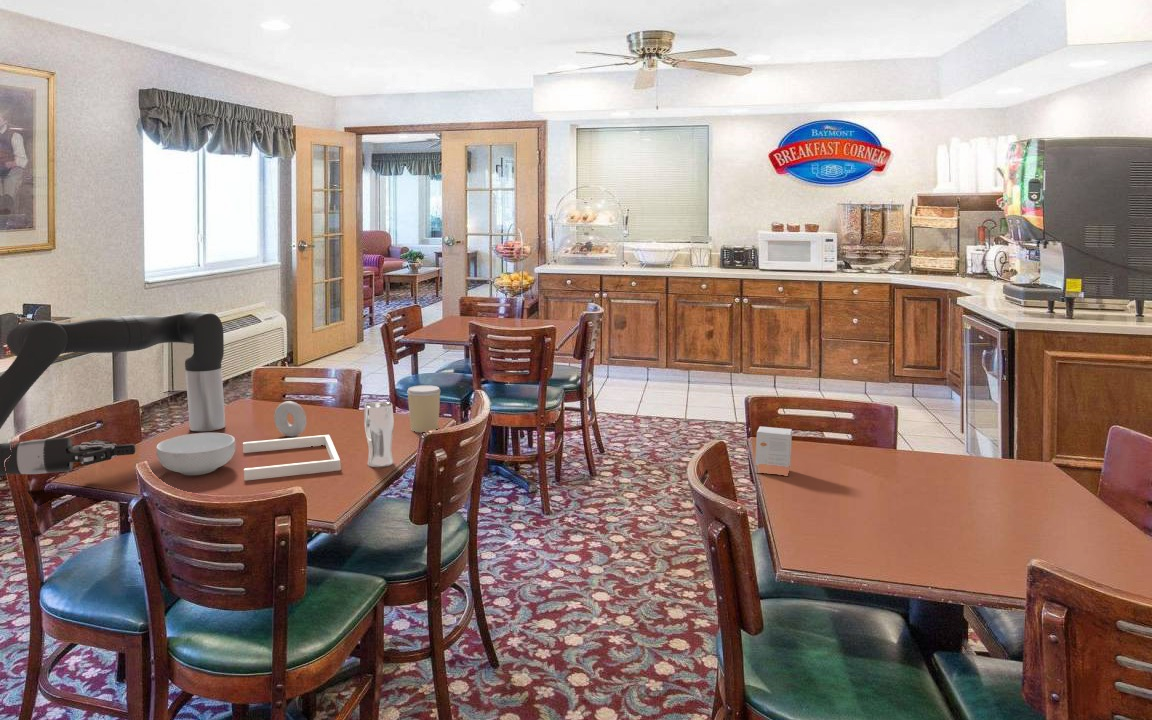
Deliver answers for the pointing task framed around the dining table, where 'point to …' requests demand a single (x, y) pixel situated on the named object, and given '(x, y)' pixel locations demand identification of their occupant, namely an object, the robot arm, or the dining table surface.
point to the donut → (282, 420)
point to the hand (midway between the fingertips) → (134, 448)
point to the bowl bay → (296, 467)
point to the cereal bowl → (196, 452)
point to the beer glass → (379, 433)
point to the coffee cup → (424, 407)
